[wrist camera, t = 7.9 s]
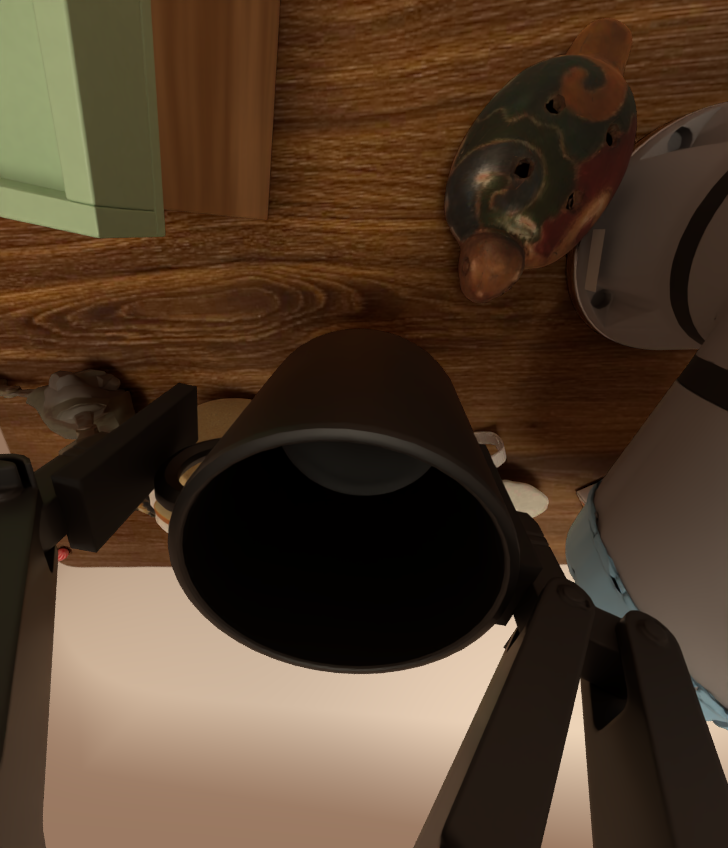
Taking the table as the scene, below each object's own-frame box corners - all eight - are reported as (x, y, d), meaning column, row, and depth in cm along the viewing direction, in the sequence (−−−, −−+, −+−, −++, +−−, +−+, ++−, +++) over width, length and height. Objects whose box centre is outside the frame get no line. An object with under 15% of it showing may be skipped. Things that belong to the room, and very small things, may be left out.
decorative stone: (571, 499, 32) (528, 550, 39) (556, 467, 34) (518, 520, 41) (355, 490, 31) (351, 544, 38) (356, 458, 34) (352, 514, 41)
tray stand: (281, -6, 21) (83, -467, 7) (267, 220, 27) (142, 207, 13) (5, -77, 21) (-820, -753, 6) (51, 172, 26) (-333, 102, 12)
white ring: (441, 434, 35) (449, 463, 30) (492, 420, 34) (509, 447, 29) (448, 457, 36) (457, 488, 32) (498, 444, 35) (514, 474, 31)
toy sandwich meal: (175, 381, 31) (176, 419, 34) (125, 517, 22) (132, 553, 25) (315, 402, 35) (305, 435, 38) (324, 526, 26) (309, 556, 29)
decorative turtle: (406, 275, 28) (411, 277, 21) (500, 28, 22) (553, -89, 15) (517, 319, 29) (559, 336, 22) (637, 92, 23) (751, 10, 16)
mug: (199, 314, 15) (1, 401, 8) (477, 333, 15) (577, 444, 7) (227, 487, 20) (122, 656, 12) (442, 504, 20) (480, 688, 12)
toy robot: (129, 587, 26) (59, 438, 20) (0, 477, 37) (-68, 363, 32) (232, 512, 33) (202, 385, 27) (96, 439, 44) (54, 340, 38)
